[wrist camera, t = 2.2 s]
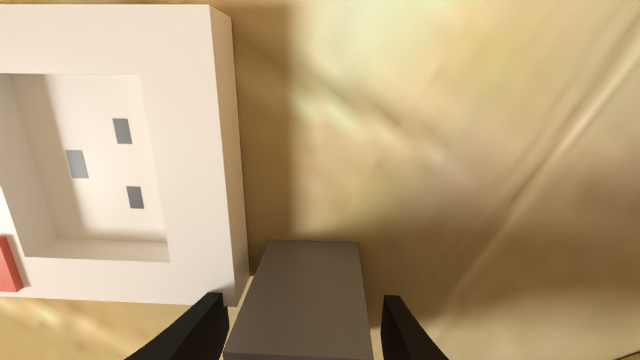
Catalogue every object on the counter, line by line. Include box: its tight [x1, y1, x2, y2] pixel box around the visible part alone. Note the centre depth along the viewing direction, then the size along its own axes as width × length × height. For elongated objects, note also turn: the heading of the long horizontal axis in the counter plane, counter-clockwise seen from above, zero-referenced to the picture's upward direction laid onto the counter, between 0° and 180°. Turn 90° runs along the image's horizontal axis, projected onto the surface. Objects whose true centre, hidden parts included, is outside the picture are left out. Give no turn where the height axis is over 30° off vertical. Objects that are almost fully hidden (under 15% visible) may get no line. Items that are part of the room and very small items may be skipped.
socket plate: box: [0, 4, 250, 307], centre depth 12 cm, size 11×11×2 cm
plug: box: [223, 240, 374, 360], centre depth 11 cm, size 4×5×6 cm
